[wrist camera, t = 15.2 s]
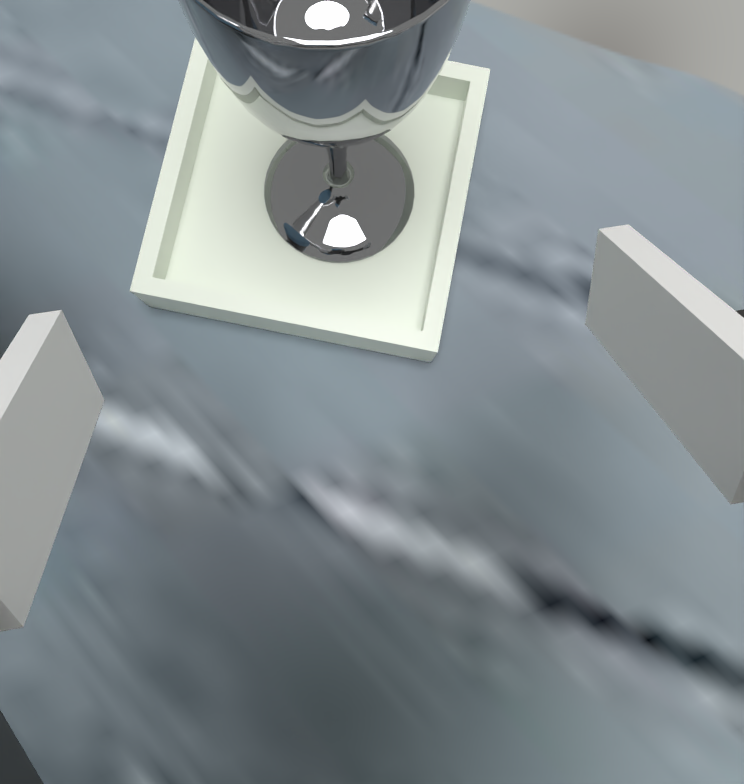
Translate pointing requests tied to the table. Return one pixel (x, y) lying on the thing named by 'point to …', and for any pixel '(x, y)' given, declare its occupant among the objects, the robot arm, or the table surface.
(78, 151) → the table surface
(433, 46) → the wine glass
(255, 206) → the white tray
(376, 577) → the table surface
